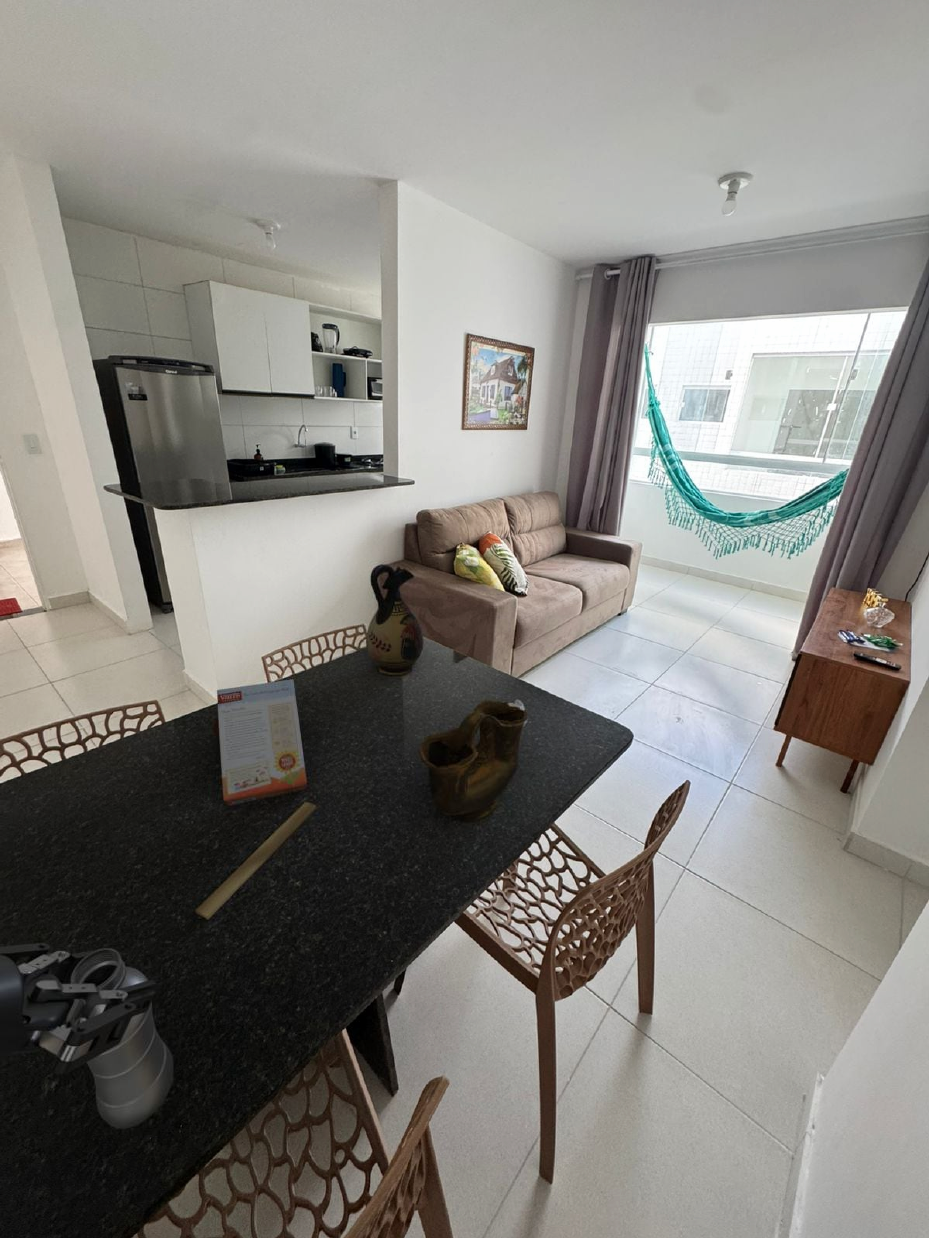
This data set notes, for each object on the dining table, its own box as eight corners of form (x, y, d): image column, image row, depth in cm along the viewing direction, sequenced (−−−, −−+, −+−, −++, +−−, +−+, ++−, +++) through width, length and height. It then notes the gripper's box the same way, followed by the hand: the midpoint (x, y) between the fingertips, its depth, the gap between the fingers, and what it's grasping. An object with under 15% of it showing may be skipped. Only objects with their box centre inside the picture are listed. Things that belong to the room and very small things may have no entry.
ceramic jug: (402, 649, 152) (402, 552, 140) (433, 670, 141) (437, 567, 129) (351, 665, 142) (346, 561, 130) (380, 689, 131) (379, 579, 119)
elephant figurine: (519, 738, 115) (521, 716, 113) (488, 726, 119) (490, 704, 117) (531, 724, 121) (534, 703, 118) (501, 713, 124) (504, 692, 122)
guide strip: (195, 913, 74) (195, 910, 73) (306, 803, 94) (305, 801, 94) (208, 919, 73) (207, 917, 73) (316, 808, 93) (316, 805, 93)
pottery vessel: (448, 859, 85) (453, 763, 77) (402, 824, 91) (403, 732, 83) (531, 782, 102) (542, 698, 94) (488, 757, 109) (495, 677, 101)
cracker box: (306, 790, 98) (294, 688, 106) (307, 784, 93) (294, 677, 101) (226, 807, 93) (220, 698, 101) (222, 801, 88) (216, 687, 96)
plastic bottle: (169, 1041, 56) (132, 917, 48) (185, 1103, 51) (147, 977, 43) (98, 1086, 52) (45, 959, 44) (108, 1158, 47) (51, 1030, 39)
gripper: (8, 1024, 30) (204, 967, 45) (-117, 923, 35) (96, 901, 50) (-75, 1181, 28) (160, 1066, 43) (-197, 1048, 33) (52, 986, 48)
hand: (125, 977), depth 46 cm, fingers closed on plastic bottle, 6 cm apart
